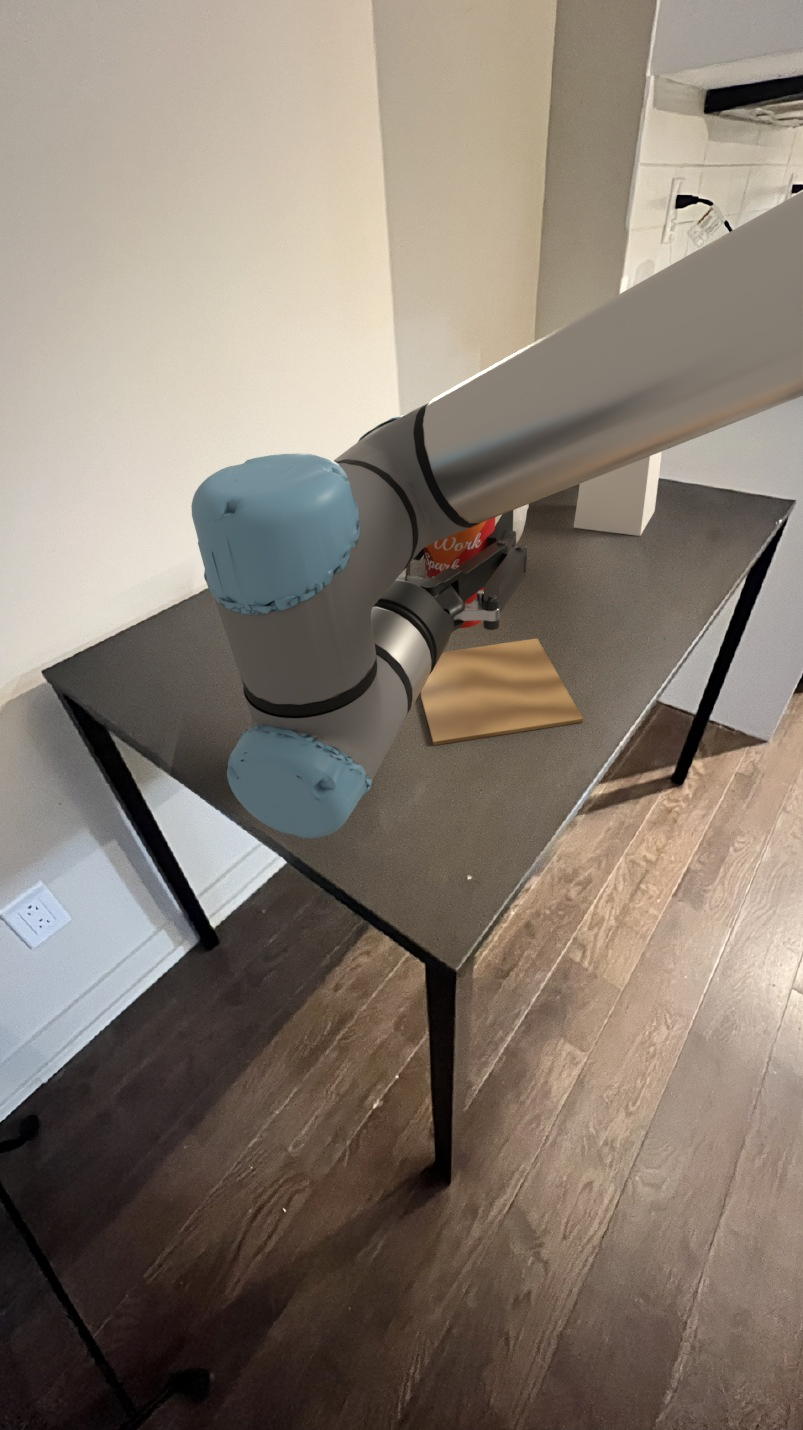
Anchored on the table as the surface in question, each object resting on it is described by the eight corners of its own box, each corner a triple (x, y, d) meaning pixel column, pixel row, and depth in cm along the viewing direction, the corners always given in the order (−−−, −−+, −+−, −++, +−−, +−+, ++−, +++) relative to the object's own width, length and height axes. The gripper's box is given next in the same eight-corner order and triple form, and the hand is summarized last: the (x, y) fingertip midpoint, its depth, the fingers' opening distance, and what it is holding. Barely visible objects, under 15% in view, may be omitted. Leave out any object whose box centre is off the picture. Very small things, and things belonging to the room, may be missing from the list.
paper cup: (406, 623, 61) (394, 479, 52) (445, 588, 66) (440, 451, 57) (477, 642, 58) (476, 491, 49) (513, 604, 62) (518, 461, 54)
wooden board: (582, 722, 74) (583, 718, 73) (433, 745, 73) (433, 741, 73) (536, 641, 88) (537, 638, 87) (410, 660, 87) (410, 656, 86)
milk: (573, 527, 116) (588, 370, 99) (591, 504, 123) (607, 355, 107) (640, 535, 111) (667, 372, 94) (654, 511, 118) (681, 355, 101)
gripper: (277, 672, 50) (384, 548, 66) (518, 711, 44) (571, 564, 60) (255, 588, 45) (376, 477, 61) (522, 619, 39) (578, 486, 55)
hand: (472, 520), depth 61 cm, fingers closed on paper cup, 6 cm apart
